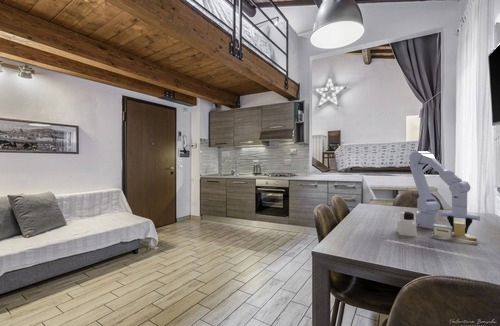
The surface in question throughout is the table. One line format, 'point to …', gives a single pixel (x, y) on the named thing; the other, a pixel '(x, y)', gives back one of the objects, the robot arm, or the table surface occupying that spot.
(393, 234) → the table surface
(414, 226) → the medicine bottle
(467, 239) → the beige divided tray
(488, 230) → the table surface
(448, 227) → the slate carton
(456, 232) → the ochre carton
